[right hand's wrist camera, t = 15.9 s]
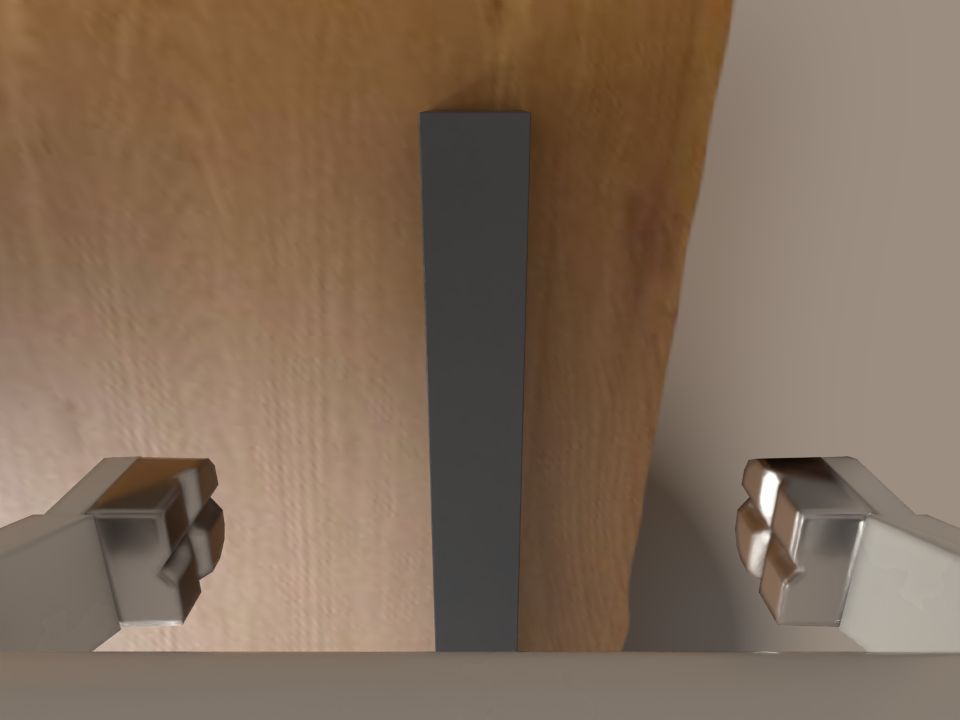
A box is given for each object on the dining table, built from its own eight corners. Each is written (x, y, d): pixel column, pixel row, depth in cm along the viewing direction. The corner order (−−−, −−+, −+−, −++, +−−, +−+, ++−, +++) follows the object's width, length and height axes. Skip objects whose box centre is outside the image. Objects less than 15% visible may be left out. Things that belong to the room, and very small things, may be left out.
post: (427, 110, 35) (418, 112, 30) (523, 110, 35) (531, 112, 30) (446, 817, 54) (442, 889, 49) (508, 817, 54) (511, 889, 49)
